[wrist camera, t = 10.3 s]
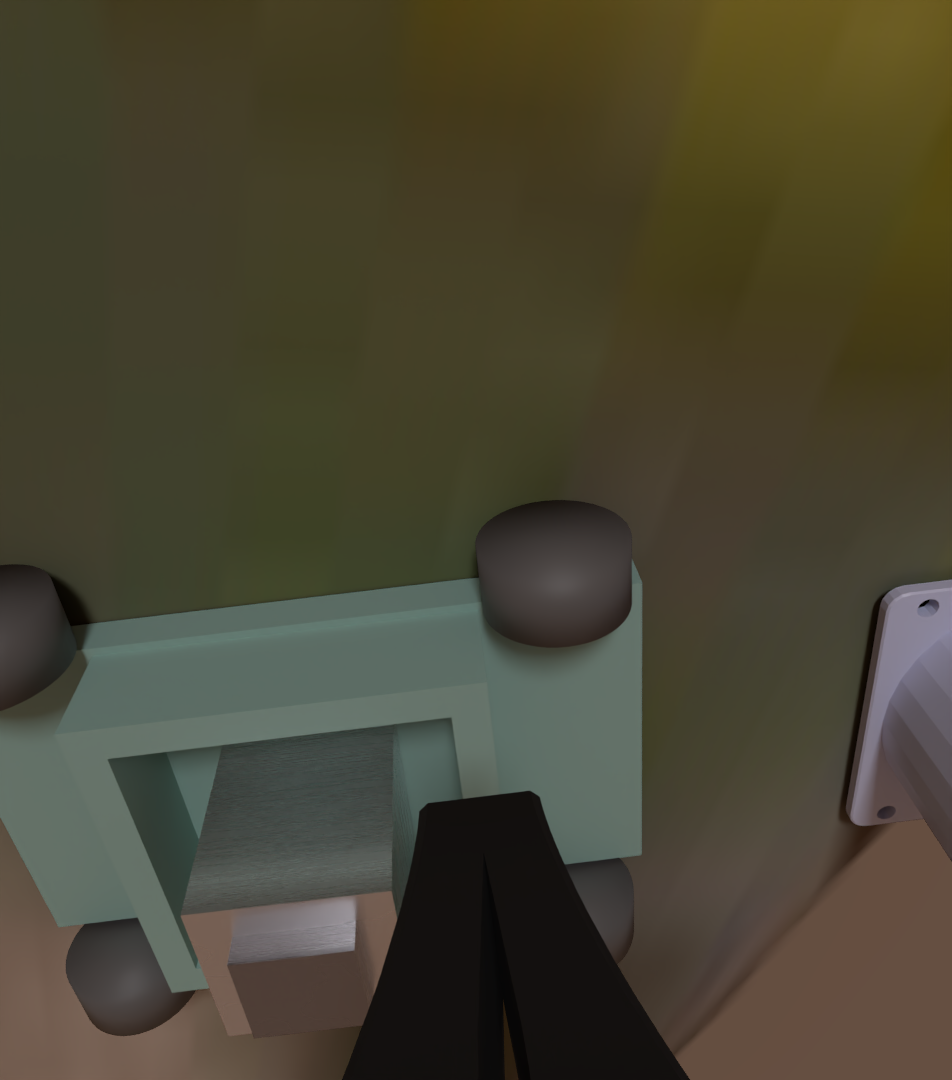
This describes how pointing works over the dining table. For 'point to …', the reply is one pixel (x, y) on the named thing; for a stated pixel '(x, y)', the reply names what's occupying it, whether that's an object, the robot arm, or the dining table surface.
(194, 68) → the dining table surface
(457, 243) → the dining table surface
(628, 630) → the chassis
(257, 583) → the dining table surface
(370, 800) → the block
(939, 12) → the dining table surface
